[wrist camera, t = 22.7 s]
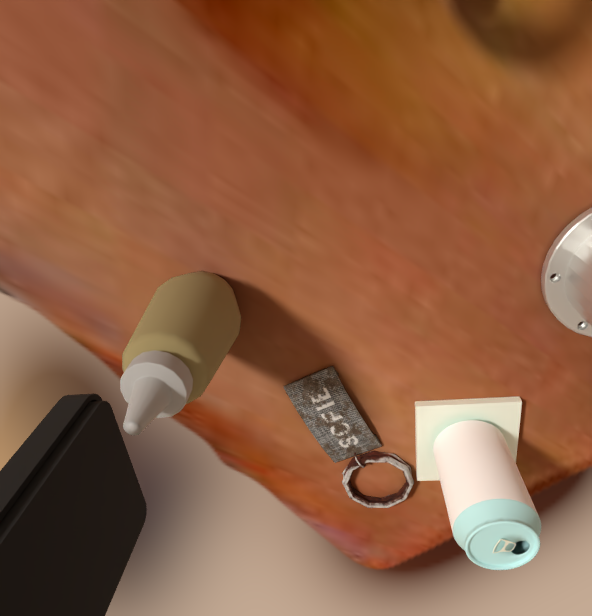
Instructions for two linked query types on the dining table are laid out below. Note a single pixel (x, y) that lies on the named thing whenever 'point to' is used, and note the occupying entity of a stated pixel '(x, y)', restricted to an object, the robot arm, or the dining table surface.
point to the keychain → (343, 431)
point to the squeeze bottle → (177, 347)
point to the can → (486, 496)
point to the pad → (447, 412)
